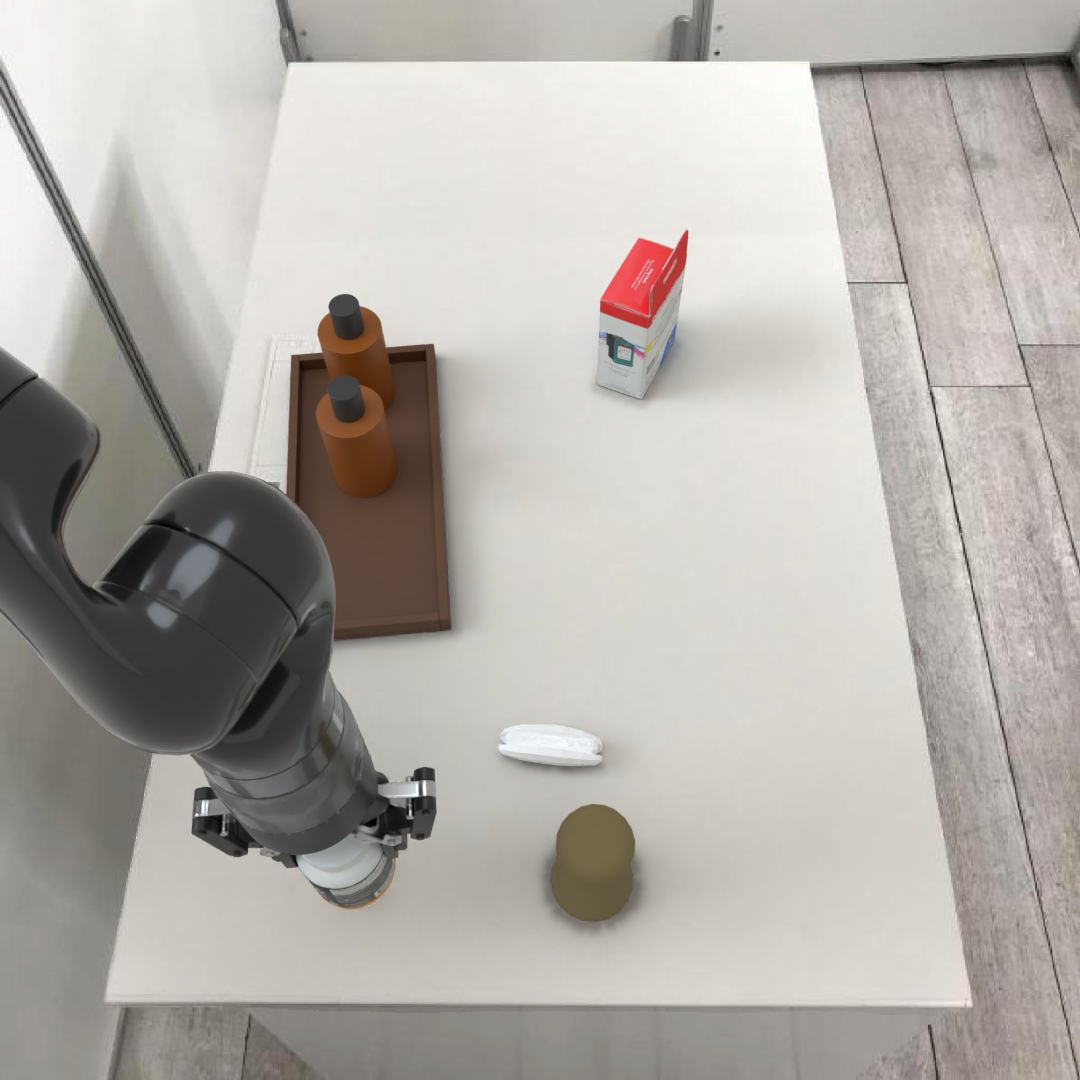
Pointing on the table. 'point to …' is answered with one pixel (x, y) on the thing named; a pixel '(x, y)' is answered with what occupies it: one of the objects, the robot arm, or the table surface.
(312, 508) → the tray
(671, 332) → the ink box
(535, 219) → the table surface
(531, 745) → the sub sandwich
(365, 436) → the amber bottle near
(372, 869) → the pill bottle
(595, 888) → the cork
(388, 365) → the amber bottle far
